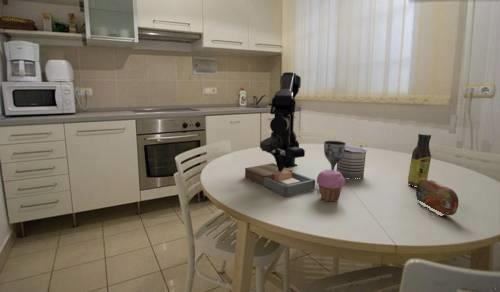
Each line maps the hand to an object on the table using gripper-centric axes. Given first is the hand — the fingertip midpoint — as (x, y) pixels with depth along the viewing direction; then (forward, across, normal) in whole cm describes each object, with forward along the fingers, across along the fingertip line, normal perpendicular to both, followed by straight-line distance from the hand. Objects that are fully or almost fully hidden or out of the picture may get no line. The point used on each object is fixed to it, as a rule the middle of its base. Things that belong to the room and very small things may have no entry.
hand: (280, 171), depth 109 cm
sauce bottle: (+5, +29, +43) cm, 52 cm away
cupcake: (+5, +20, +4) cm, 21 cm away
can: (+5, +7, +32) cm, 33 cm away
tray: (+5, +5, 0) cm, 7 cm away
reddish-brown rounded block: (+5, +43, +25) cm, 50 cm away
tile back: (+2, +1, 0) cm, 2 cm away
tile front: (+2, +6, 0) cm, 6 cm away
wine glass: (+5, +7, +21) cm, 23 cm away
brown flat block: (+5, -7, 0) cm, 9 cm away
